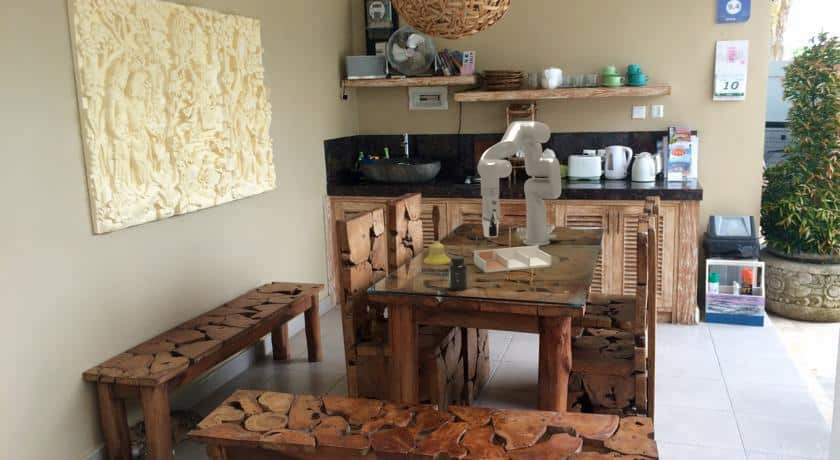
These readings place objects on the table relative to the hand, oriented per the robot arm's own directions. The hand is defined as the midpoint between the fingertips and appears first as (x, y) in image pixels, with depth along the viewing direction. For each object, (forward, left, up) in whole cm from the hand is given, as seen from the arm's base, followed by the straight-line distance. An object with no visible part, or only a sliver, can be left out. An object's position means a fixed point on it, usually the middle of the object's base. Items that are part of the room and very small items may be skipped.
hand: (490, 234), depth 298 cm
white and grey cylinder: (0, 0, -1) cm, 1 cm away
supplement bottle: (+22, +26, -15) cm, 37 cm away
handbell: (+18, -20, -15) cm, 31 cm away
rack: (-10, -1, -14) cm, 17 cm away
